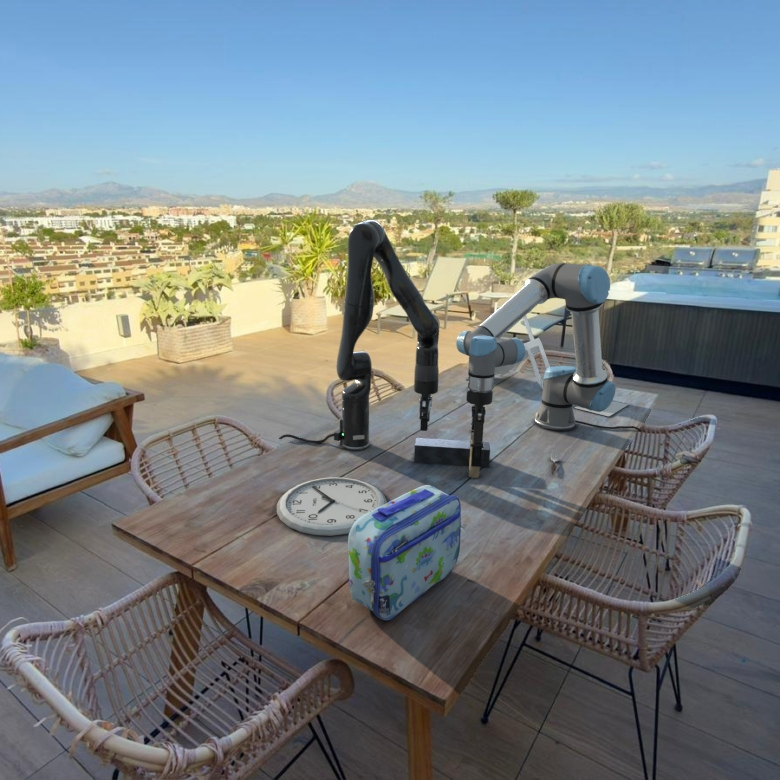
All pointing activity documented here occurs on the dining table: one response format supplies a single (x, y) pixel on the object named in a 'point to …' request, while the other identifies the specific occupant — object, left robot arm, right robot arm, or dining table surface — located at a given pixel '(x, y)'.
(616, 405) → the invitation card
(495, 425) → the dining table surface
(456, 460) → the peg board
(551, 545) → the dining table surface
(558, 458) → the fork
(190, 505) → the dining table surface
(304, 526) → the wall clock
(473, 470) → the peg
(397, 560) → the lunch box
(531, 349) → the white plastic object
